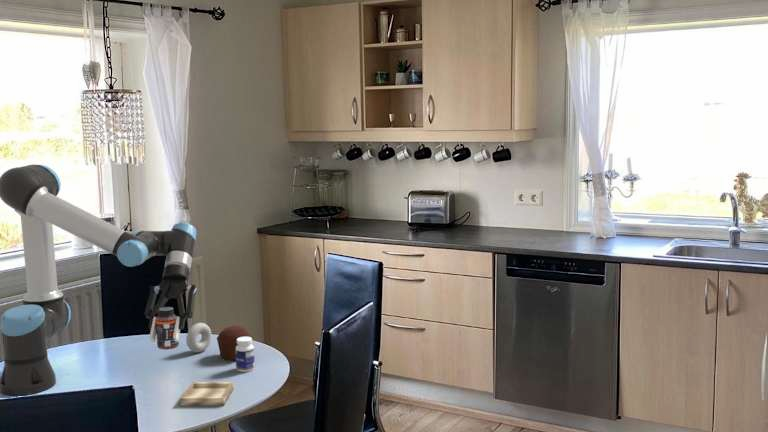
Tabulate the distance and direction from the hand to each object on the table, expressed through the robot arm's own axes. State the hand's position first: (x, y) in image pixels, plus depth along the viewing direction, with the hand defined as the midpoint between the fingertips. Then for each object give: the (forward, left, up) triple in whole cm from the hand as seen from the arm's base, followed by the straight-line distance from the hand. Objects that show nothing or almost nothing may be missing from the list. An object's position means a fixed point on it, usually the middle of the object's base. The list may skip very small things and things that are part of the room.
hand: (163, 339), depth 211 cm
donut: (-1, +40, -17) cm, 44 cm away
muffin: (+12, +35, -17) cm, 41 cm away
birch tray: (+12, 0, -17) cm, 21 cm away
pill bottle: (+18, +23, -17) cm, 34 cm away
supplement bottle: (0, +4, -4) cm, 5 cm away
